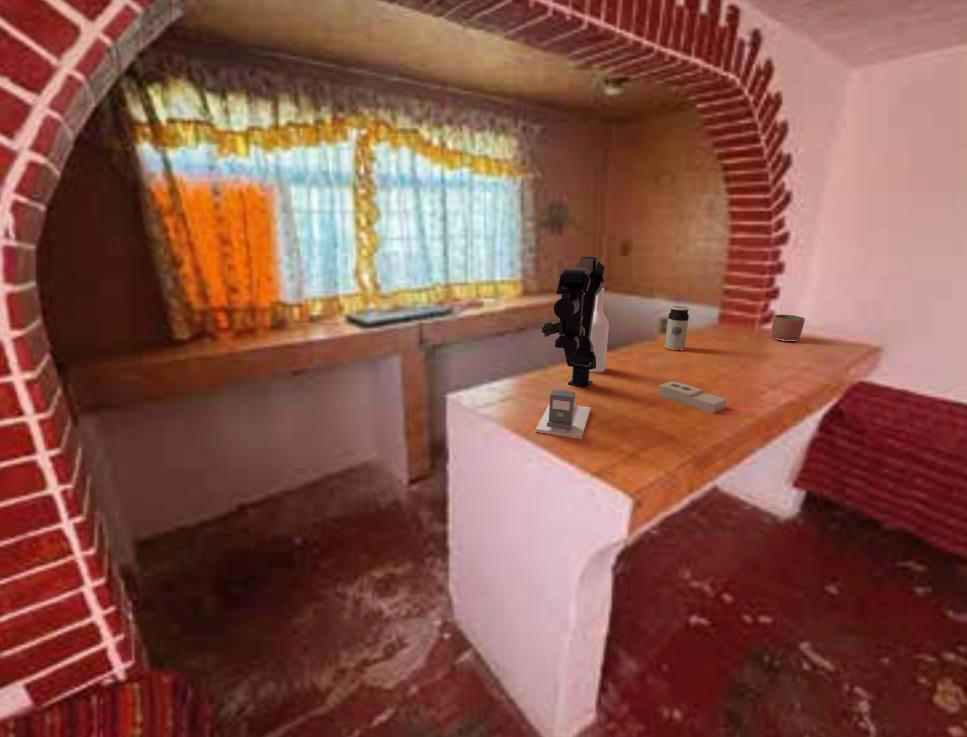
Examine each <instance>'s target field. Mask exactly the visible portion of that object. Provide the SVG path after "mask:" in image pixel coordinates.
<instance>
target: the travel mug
mask: <svg viewBox="0 0 967 737" xmlns="http://www.w3.org/2000/svg"><path fill="white" fill-rule="evenodd" d="M689 310H690V307H688V306H684V305H683V306H682V305H671V306H670V312H669V313H668V318H667V325H666V332H665V342H664V348H665V347H666V348H669V349H675V350H681V349H684V350H685V348H686V340H687V332H688V325H689V319H690V315H689V313H688V312H689ZM666 348H665V349H666ZM681 351H682V350H681Z"/></svg>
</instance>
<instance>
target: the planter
mask: <svg viewBox="0 0 967 737" xmlns="http://www.w3.org/2000/svg"><path fill="white" fill-rule="evenodd" d="M805 321H806V318H805V317H803V316H799V315H792V314H774V315H773V319H772V325H771V337H774V338H778V339H784V340H797V339H798V340H799V339H800V338H801V336H802V332H803V328H804V325H805ZM798 340H797V341H798Z"/></svg>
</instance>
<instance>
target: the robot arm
mask: <svg viewBox="0 0 967 737" xmlns="http://www.w3.org/2000/svg"><path fill="white" fill-rule="evenodd" d="M606 278H607V271H606V267H605V265H603V263H601V262H600V261H599V259H598V257H596V256H588V255H587V256H582V257H581V258H580V261H579V262H578V263H576V265H575V266H574V267H567V268H564V269H563V271H562V272H561V273H560V276H559V281H558V285H557V288H556V295H561V296H560V297H561V298H560V299H558V300H557V301H556V302H554V305H553V312H554V315H555V316H556V317H557V318H558V319H559V320H554V321H549V322H545V323H544V324H543V325H542V326H541V333H543V336H544V337H545V338H547V337H550V335H555V334H558V337H557V338H556V339H555V341H554V347H555V348H557V349H563V350H564V356H565V361H566V364H567V367H572V371H571V372H572V373H571V379H570V380H569V381H568V382H567V384H568V385H570V386H574V387H575V386H576V387H581V388H587V387H588V386H590V385H591V384H593V381H592V380H590V373H591V372H590V369H594V368H596V356H595V352H593V350H594V347H593V344H592V342H591V340H590V336H591V330H592V323H593V316H594V311H595V304H596V296H597V294H598V293H599V292H600V291H601V289H602V288H603V286H604V283H606ZM590 363H591V364H590Z"/></svg>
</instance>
